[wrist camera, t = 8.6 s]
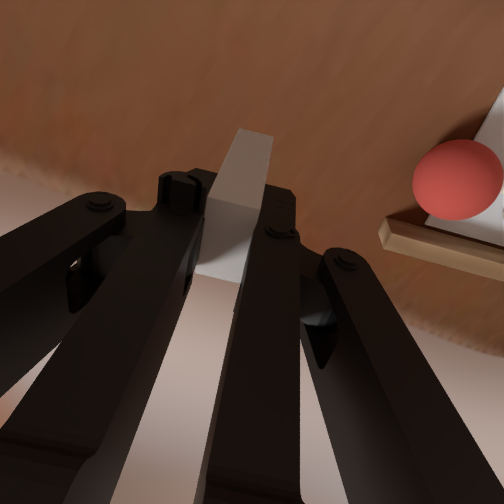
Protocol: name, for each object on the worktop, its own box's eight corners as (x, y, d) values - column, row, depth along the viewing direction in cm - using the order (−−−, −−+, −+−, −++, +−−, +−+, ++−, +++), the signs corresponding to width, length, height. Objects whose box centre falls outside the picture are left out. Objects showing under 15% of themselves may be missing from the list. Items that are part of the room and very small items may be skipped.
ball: (518, 148, 28) (440, 118, 29) (530, 175, 23) (437, 138, 24) (469, 213, 32) (402, 184, 33) (471, 247, 27) (393, 212, 28)
